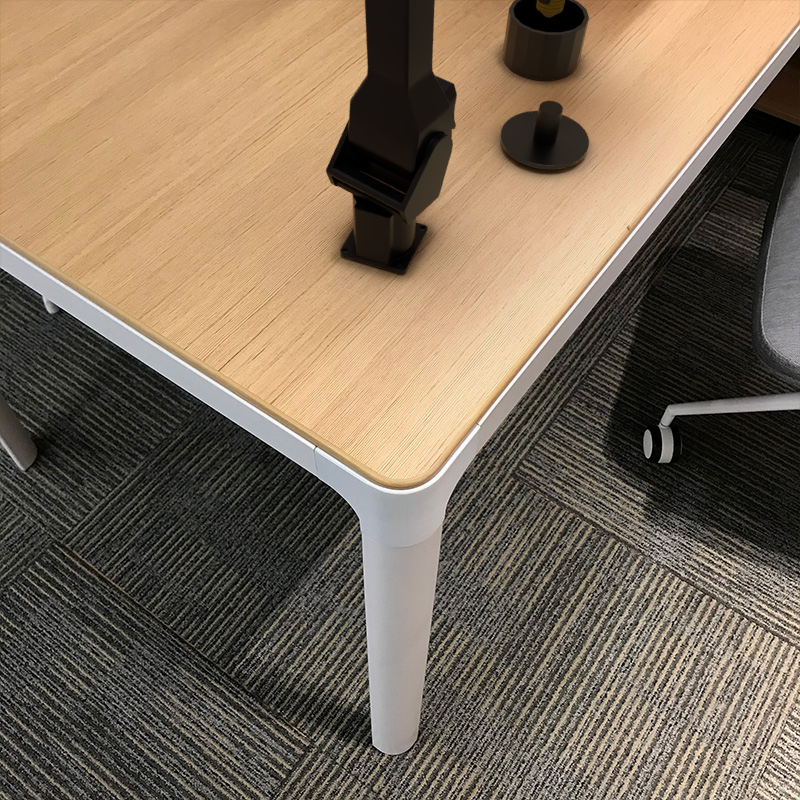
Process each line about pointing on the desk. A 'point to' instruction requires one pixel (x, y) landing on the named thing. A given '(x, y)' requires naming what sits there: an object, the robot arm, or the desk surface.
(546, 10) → the light bulb
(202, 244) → the desk surface
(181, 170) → the desk surface
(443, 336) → the desk surface
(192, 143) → the desk surface
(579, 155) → the bin lid
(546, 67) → the bin
